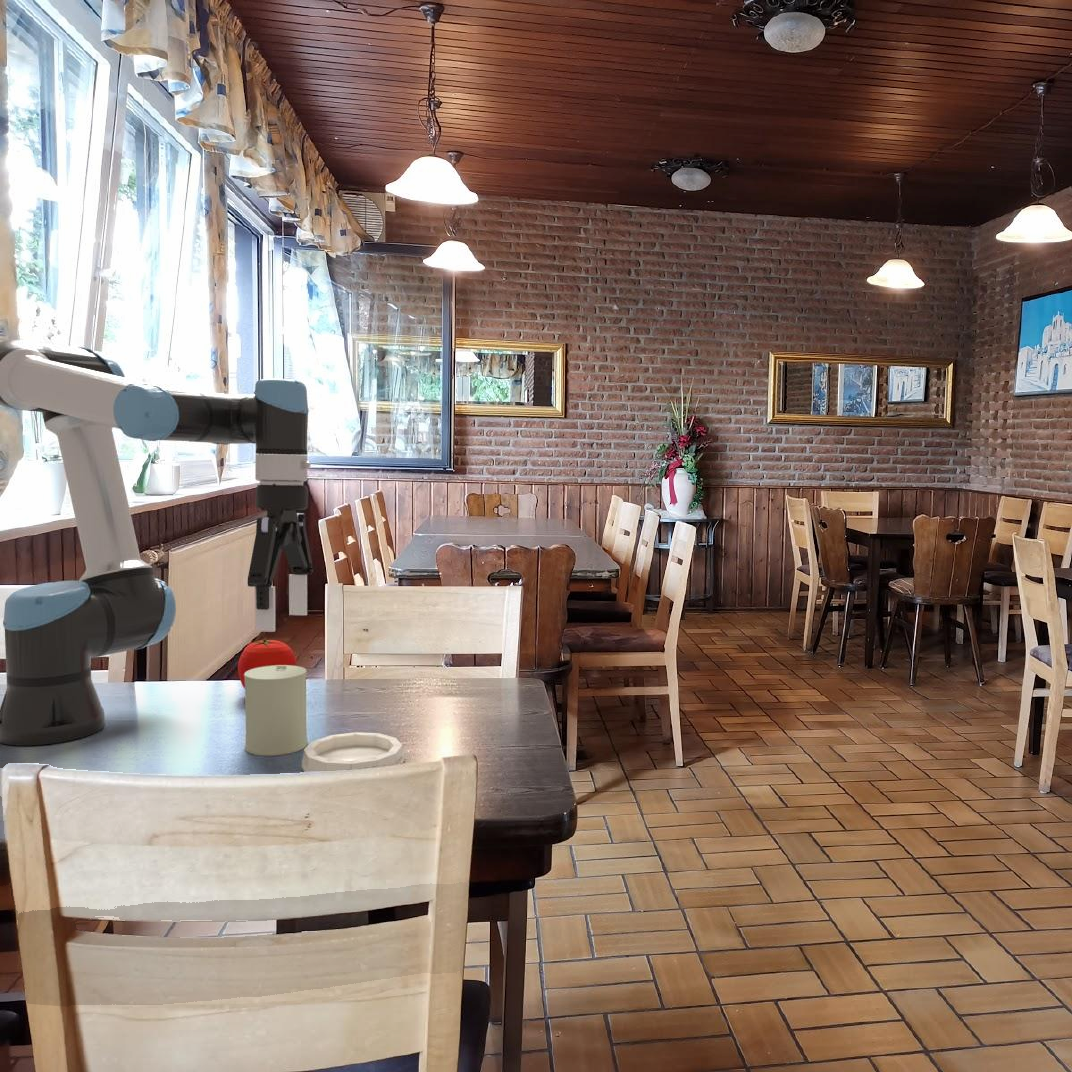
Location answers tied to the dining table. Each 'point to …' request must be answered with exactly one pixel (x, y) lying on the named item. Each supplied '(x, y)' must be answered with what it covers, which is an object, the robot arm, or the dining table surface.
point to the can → (275, 710)
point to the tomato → (264, 656)
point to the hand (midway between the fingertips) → (282, 622)
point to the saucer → (352, 752)
